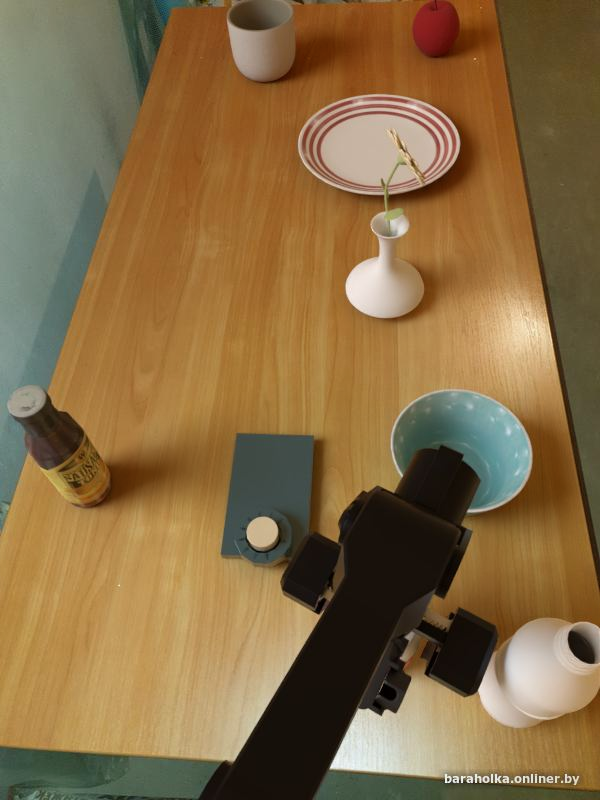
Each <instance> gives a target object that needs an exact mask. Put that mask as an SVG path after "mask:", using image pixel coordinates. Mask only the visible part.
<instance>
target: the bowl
mask: <svg viewBox="0 0 600 800" xmlns="http://www.w3.org/2000/svg"><path fill="white" fill-rule="evenodd" d="M389 442H390V443H389V444H390V445H389V446H390V456H391V459H392V463H393V465H394V467H395V469H396V471H397V474H398V475H399V477H400V478H402V477H403V475H404V473H405V471H406V469H407V467H408V465H409V463H410V461H411V459H412V457H413V455H414V453H415V451H418V450H419V449H423V448H432V449H439V447H440V445H441V444H442V445H444V446H447V447H449V448H451V449H453V450H456V451H458V452H460V453H462V454H464V457H463V459H462V460H463V461H464V462H466V463H467V464H468V465H469V466H471V467H472V468H473V470H474V471H475V472H476V473H477V475H478V476H479V478H480V479H481V482H480V485H479V487H478V489H477V491H476V494H475V496H474V498H473V500H472V502H471V505H470V507H469V509H468V511H467V513H466V516H465V517H471V516H475V515H480V514H481V515H482V514H484V513H487V512H490V511H493V510H496V509H498V508H500V507H503V506H505V505H506V504H508V503H510V502H511V501H512V500H513V499H514V498H516V497H517V496H518V495H519V494H520V492H522V490H523V489H524V488H525V486H526V485H527V483H528V482H529V481H528V480H529V479H530V476H531V473H532V468H533V464H534V463H533V462H534V461H533V460H534V453H533V446H532V442H531V439H530V436H529V434H528V431H527V430H526V427H525V426H524V424H523V423H522V421H521V420H520V419H519V418H518V417H517V415H516V414H515V413H514V412H512V410H510V408H508V407H507V406H505V405H504V404H503V403H501V402H500V401H499V400H496V399H495V398H493V397H490V396H488V395H486V394H484V393H480V392H478V391H474V390H469V389H462V388H445V389H439V390H434V391H431V392H428V393H426V394H425V393H424V394H423V395H421V396H419V397H417V398H416V399H414V400H412V401H411V402H410V403H408V404H407V405H406V406H405V407H404V408H403V409H402V411H401V412H400V413H399V414H398V416H397V417H396V420H395V421H394V423H393V426H392V428H391V433H390V440H389Z"/></svg>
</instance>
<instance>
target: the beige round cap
mask: <svg viewBox="0 0 600 800" xmlns="http://www.w3.org/2000/svg"><path fill="white" fill-rule="evenodd" d="M247 538H248V541H249V543H250V545H251V546H252V547H253V548H254V549H256V550H258V551H268V550H270V549H272V548H273V547H275V545H276V544H277V543H278V540H279V530H278V526H277V524H276V523H275V521H274V520H272V519H271V518H268V517H258V518H256V519H254V520H253V521H252V522H251V523H250V524H249V525H248V528H247Z"/></svg>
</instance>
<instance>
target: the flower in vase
mask: <svg viewBox="0 0 600 800" xmlns="http://www.w3.org/2000/svg"><path fill="white" fill-rule="evenodd" d="M393 130H394V134H393V132H392V129H391V128H390V127H389V129H388V128H387V132H388V134H389V136H390V139H391V141H392V143H393V144H394V146H395V148H396V149H397V151H398V153H399V156H398V159H397V160H398V162H397V163H396V165H395V167H394V169H393V170H392V172H391V174H390V176H389V178H388V180H387V183H386V185H385V183H384V181H383V179H382V178H381V186H382V189H383V191H384V195H383V196H384V208H385V211H381V212H379V213H377V214H376V215H374V216H373V218H371V221H370V228H371V230H372V232H373V233H374V234H375V235H376V236H377V239H378V245H379V253H378V256H374V257H371V258H367V259H365V260H363V261H361V262H360V263H358V264H357V265H356V266H355V267H354V268H353V269H352V270H351V271H350V272H349V274H348V276H347V278H346V281H345V294H346V297H347V300H349V302H350V304H351V305H352V307H355V309H356V310H357V311H359V312H361V313H362V314H364V315H365V316H369V317H372V318H376V319H385V320H386V319H396V318H399V317H401V316H404V315H406V314H409V313H410V312H411V311H413V310H414V309H416V307H418V305H420V303H421V301H422V299H423V297H424V294H425V284H424V281H423V278H422V276H421V274H420V272H419V270H417V268H416V267H415V266H414V265H413V264H411V263H410V262H408V261H405V260H404V259H401V258H399V257H396V256H397V248H398V244H399V242H400V239H401V238H402V237H403V236H405V235H406V234H407V233H408V231H409V230H410V221H409V218H407V216H406V215H404V214H405V210H404V209H403V208H402V207H397V208H393V209H390V210H389V205H388V204H389V203H388V199H389V198H390V195H389V193H388V189H387V188H388V185H389V183H390V180H391V178H392V176H393V174H394V173H395V171H396V169H397V167H398V166H399V164H400V165H407V167H408V168H409V170H410V171H411V173H412V174H413V175H414V177H415V178H416V179H417V181H418V182H419V183H420V184H421V185H422V186H423V187H425V186H424V184H426V183H425V182H424V180H423V179H426V177H425V176H424V175H423V173H422V172H421V171H420V170H419V169H418V168H417V167H419V165H418V163H417V162H416V161H415V160H414V159H413V158H412V157H411V155H410V154H409V153H408V151H407V147H406V145H405V143H404V141H400V139H399V136H398V134H397V132H396V130H395V128H394V129H393ZM420 176H421V177H422V178H423V179H422V178H421V177H420ZM423 183H424V184H423Z"/></svg>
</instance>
